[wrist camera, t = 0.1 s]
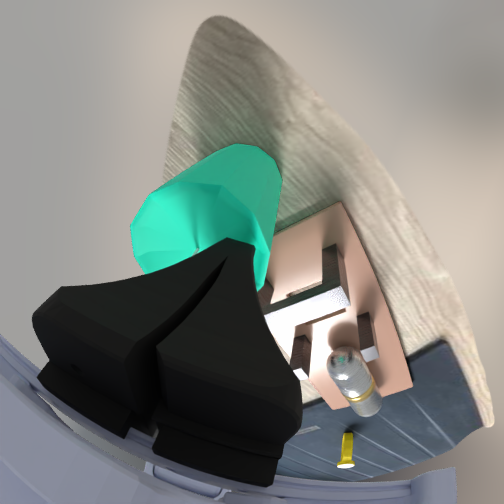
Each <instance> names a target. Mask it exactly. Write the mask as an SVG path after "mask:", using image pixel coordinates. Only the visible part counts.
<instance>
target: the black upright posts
mask: <svg viewBox="0 0 504 504" xmlns="http://www.w3.org/2000/svg"><path fill="white" fill-rule="evenodd" d="M273 292H274V288H273V287H272V285H271V284H270V282H269V281H268V280H267V278H266V277H265V281H264V286H263V287H262V288H261V289H260V290H259V291H258V292H257V294H258V298H259V302H260V305H261V308H262V311H263V314H264V317H265V320H266V322H267V325H268V327H269V329H270V331H271V333H274V332H277V331H280V330H283V329H286V328H290V327H293V326H296V325H298V324H301V323H304V322H307V321H310V320H313V319H316V318H319V317H321V316H324V315H327V314H330V313H332V312H335V311H338V310H340V309H343V308H346V307H348V306H351V303H350V295H349V288H348V281H347V274H346V267H345V261H344V258H343V256H342V254H341V252H340V250H339V248H338V246H337V244H336V243H335V244H333V245H330V246H328V247H326V248H324V249H322V284H321V285H318V286H316V287H313V288H311V289H308V290H306V291H303V292H301V293H298V294H296V295H293V296H291V297H288V298H285V299H283V300H280V301H277V302H275V303H272V304H271V300H272V296H273ZM356 317H357V325H358V334H359V343H360V351H361V353H362V355H363V357H364V359H365V361H366V362H368V361H371V360H374V359H377V358H380V357H379V350H378V344H377V338H376V332H375V326H374V322H373V320H372V318H371V315H370V313H369V311H368V312H366V313H363V314H361V315H358V316H356ZM311 350H312V344H311V342H310V341H309V340H308V338H307V337H306V335H305V334H304V335H301V336H298V337H294V339H293V346H292V352H291V359H290V367H291V368H292V370H293V371H294V373H295V374H296V376H297V377H298V378H299V380H305V379H309V373H310V362H311Z"/></svg>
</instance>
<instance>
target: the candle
mask: <svg viewBox="0 0 504 504" xmlns="http://www.w3.org/2000/svg"><path fill="white" fill-rule="evenodd" d="M281 185H282V178H281V175H280V172H279V170H278V167H277V165H276V162H275V160H274V159H273V158H271V157H270V156H269V155H268V154H266V153H265V152H264V151H263V150H261V149H260V148H259V147H258V146H251V145H245V144H238V143H235V144H233V145H230V146H228V147H225V148H223V149H220V150H218V151H216V152H214V153H212V154H211V155H209V156H207V157H206V158H204V159H203V160H201V161H199V162H198V163H196V164H194V165H193V166H191V167H190V168H188V169H186V170H185V171H183V172H182V173H180V174H179V175H177V176H176V177H174V178H173V179H171V180H170V181H168V182H167V183H165V184H164V185H162V186H161V187H159V188H158V189H156V190H155V191H154V192H152V193H151V194H149V195H148V197H147V198H146V200H145V202H144V203H143V205H142V207H141V208H140V210H139V212H138V213H137V215H136V216H135V218H134V220H133V222H132V223H131V225H130V230H131V238H132V246H133V252H134V257H135V259H136V260H137V262H138V263H139V265H140V266H141V268H142V270H143V271H144V273H145V274H148V273H152V272H155V271H158V270H160V269H163V268H166V267H169V266H171V265H174V264H176V263H178V262H180V261H183V260H185V259H187V258H189V257H191V256H193V255H195V254H197V253H199V252H201V251H203V250H205V249H206V248H208V247H210V246H212V245H214V244H215V243H217V242H219V241H221V240H223V239H224V238H226V237H228V238H231V239H235V240H238V241H241V242H245V243H248V244H252V245H254V246H255V248H256V251H255V255H254V276H255V284H256V289H257V292H258V291H259V290H260V289H261V288H262V287H263V286H264V281H265V276H266V272H267V267H268V262H269V257H270V252H271V246H272V240H273V234H274V228H275V222H276V216H277V210H278V204H279V198H280V192H281Z"/></svg>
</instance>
